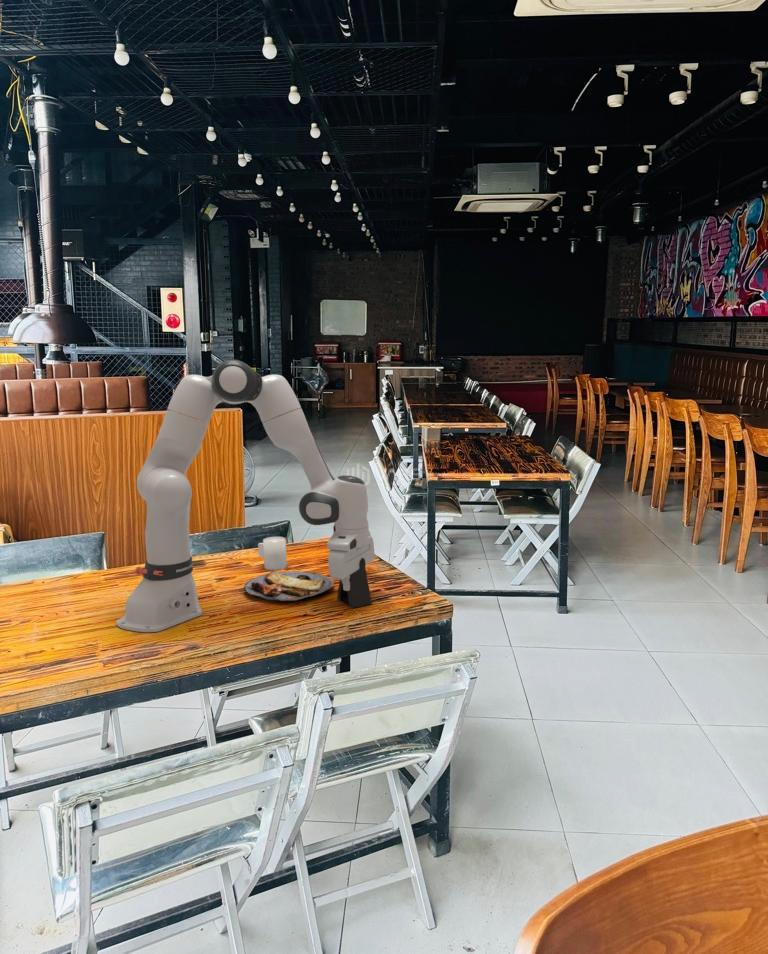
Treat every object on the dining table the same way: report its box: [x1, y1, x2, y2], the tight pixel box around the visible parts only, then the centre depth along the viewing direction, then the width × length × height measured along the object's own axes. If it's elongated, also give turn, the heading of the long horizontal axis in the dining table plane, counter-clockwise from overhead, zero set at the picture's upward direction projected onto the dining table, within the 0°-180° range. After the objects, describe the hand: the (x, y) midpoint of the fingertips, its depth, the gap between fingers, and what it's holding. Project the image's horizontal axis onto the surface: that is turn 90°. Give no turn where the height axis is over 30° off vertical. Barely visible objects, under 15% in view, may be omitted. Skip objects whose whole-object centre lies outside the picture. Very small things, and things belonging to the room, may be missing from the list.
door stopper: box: [336, 558, 373, 609], centre depth 205 cm, size 9×6×12 cm, turn 30°
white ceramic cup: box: [257, 536, 288, 571], centre depth 239 cm, size 7×9×9 cm
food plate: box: [243, 570, 334, 602], centre depth 217 cm, size 25×23×4 cm
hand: (353, 585), depth 205 cm, fingers closed on door stopper, 6 cm apart
